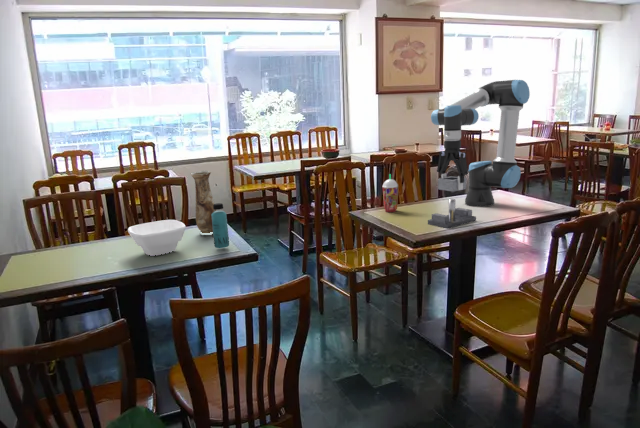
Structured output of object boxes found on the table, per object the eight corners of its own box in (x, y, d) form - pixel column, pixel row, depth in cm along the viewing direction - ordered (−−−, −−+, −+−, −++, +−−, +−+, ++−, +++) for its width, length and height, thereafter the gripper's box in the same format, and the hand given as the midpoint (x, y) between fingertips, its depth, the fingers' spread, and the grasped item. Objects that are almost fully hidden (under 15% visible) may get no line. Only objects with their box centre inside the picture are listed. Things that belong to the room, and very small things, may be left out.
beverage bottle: (217, 247, 214) (212, 202, 210) (232, 247, 213) (227, 201, 209) (212, 251, 208) (207, 205, 203) (227, 251, 207) (223, 205, 203)
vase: (223, 232, 238) (217, 171, 231) (204, 237, 231) (197, 174, 224) (211, 229, 245) (205, 169, 239) (192, 234, 238) (185, 172, 231)
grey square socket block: (450, 186, 236) (451, 176, 235) (466, 188, 229) (466, 178, 228) (438, 189, 231) (438, 178, 230) (453, 191, 224) (453, 180, 223)
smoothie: (395, 213, 258) (394, 175, 254) (380, 212, 262) (379, 175, 258) (400, 209, 265) (400, 173, 261) (386, 209, 269) (385, 172, 265)
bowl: (126, 252, 213) (122, 227, 211) (176, 242, 226) (173, 217, 223) (141, 265, 196) (137, 236, 193) (194, 253, 208) (191, 226, 205)
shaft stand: (456, 216, 244) (456, 194, 242) (476, 220, 234) (476, 198, 232) (427, 224, 233) (427, 201, 231) (447, 228, 224) (447, 204, 221)
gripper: (428, 139, 232) (428, 187, 237) (466, 141, 214) (465, 192, 219) (439, 138, 236) (439, 185, 241) (477, 140, 218) (476, 190, 223)
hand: (451, 188), depth 230 cm, fingers closed on grey square socket block, 9 cm apart
